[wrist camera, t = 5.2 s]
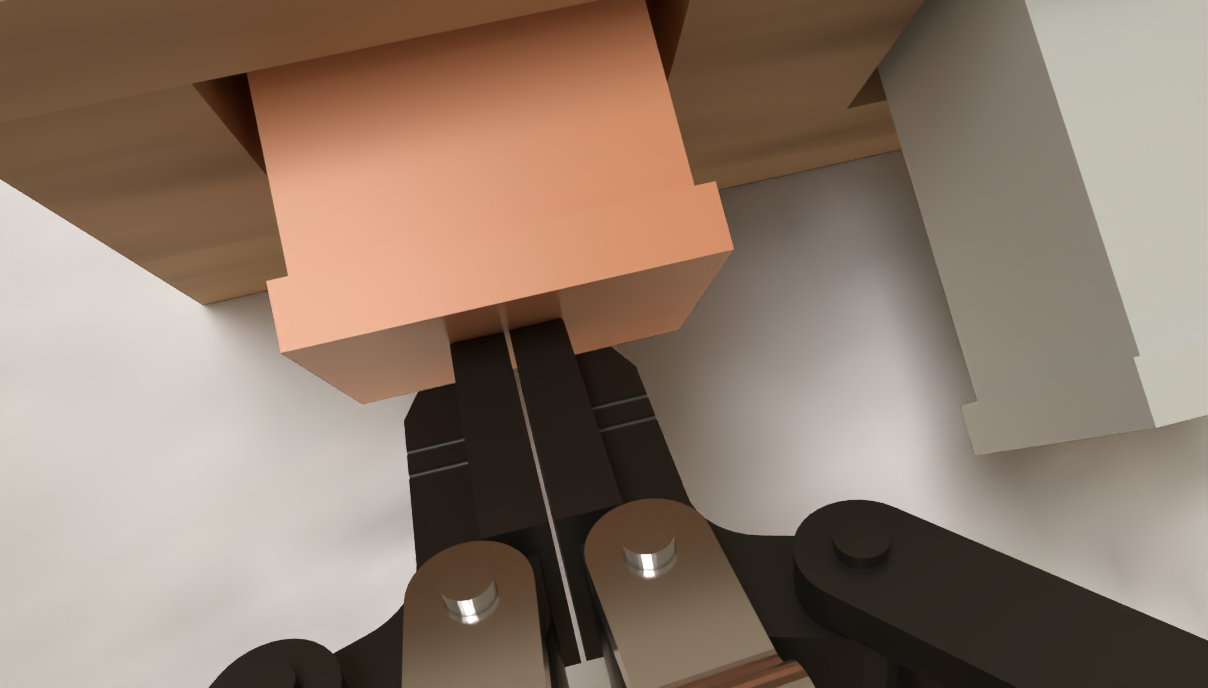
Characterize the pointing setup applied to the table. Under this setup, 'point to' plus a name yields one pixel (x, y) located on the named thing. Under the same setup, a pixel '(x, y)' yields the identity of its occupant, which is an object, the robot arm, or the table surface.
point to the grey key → (1064, 206)
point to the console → (355, 21)
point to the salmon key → (481, 195)
